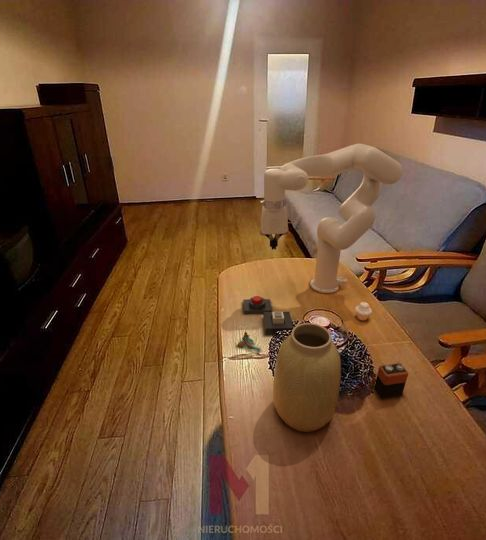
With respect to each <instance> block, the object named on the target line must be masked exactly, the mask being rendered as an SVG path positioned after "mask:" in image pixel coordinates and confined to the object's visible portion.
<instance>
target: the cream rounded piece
mask: <svg viewBox="0 0 486 540" xmlns="http://www.w3.org/2000/svg"><path fill="white" fill-rule="evenodd" d="M354 313H355V315H356V317H357V319H358V320H360V321H367V319H369V318H370V317H371V315H372V313H373V310H372V308H371V307H370V304H369V303H367V302H365V301H362V302H360V303H359V304H358V305H356V306H355V308H354Z"/></svg>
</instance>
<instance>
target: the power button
mask: <svg viewBox="0 0 486 540" xmlns="http://www.w3.org/2000/svg"><path fill="white" fill-rule="evenodd" d="M252 297H253V303H255V304H260V303H261V302H262V298H263V297H262V296H260V295H254V296H252ZM261 297H262V298H261Z"/></svg>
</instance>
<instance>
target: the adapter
mask: <svg viewBox="0 0 486 540" xmlns="http://www.w3.org/2000/svg"><path fill="white" fill-rule="evenodd" d="M272 312H273V311H272ZM272 312H263V314H262V315H263V319H262V321H263V327H264V336H278V335H277V334H278V333H275V332H277V331H283V330H293V328H294V325H293V324H294V323H293V321H292V317H291V312H290V311H282V312H283V315H284V324H272Z"/></svg>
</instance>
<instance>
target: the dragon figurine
mask: <svg viewBox="0 0 486 540" xmlns="http://www.w3.org/2000/svg"><path fill="white" fill-rule="evenodd" d="M245 344H246V346H248V347H250V348H251V349H253V350H257V351H256V353H257V354H258V355H259V351H260V348H259V347H256V346H255V345H256V343H255V342H254V340H253V339H252V338H250V334H248V332H247V331H246V330H245V331H244V333H243V336H242V337H241V340H240V341H238V343H237V344H236V346H237V347H238V348H240V347H243V346H245Z"/></svg>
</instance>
